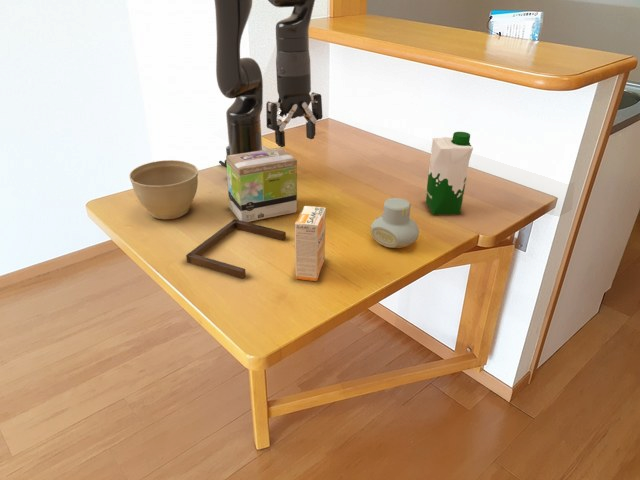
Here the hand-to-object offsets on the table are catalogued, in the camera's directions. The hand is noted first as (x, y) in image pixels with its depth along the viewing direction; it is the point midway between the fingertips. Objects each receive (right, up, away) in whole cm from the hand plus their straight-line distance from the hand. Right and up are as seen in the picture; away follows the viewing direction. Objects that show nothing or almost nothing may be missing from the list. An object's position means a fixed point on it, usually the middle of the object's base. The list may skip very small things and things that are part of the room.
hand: (295, 142), depth 120 cm
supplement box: (+4, -30, -12) cm, 32 cm away
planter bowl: (-33, -16, +10) cm, 38 cm away
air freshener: (+23, -24, -2) cm, 33 cm away
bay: (-12, -25, -6) cm, 29 cm away
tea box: (-9, -16, +11) cm, 21 cm away
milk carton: (+38, -15, +13) cm, 43 cm away
